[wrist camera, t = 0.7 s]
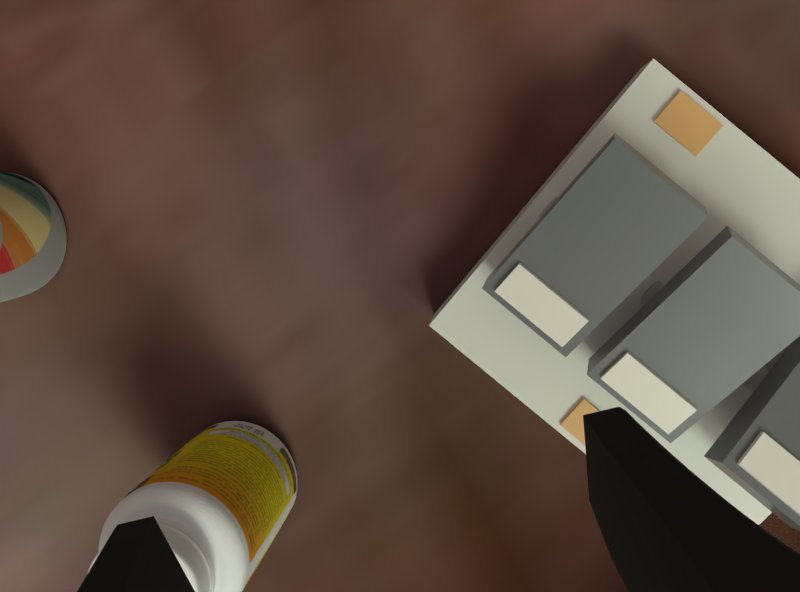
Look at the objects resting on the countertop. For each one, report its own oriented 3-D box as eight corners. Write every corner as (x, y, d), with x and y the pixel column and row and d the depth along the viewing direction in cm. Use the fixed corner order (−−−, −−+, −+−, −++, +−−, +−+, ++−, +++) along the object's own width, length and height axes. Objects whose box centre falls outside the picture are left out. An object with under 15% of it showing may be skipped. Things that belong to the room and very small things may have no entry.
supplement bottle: (203, 398, 35) (85, 488, 25) (317, 443, 34) (244, 552, 24) (169, 505, 36) (43, 633, 26) (279, 549, 35) (194, 697, 25)
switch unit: (930, 307, 30) (986, 324, 27) (702, 534, 33) (727, 576, 29) (640, 68, 30) (659, 53, 27) (433, 314, 33) (426, 330, 29)
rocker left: (705, 206, 26) (709, 218, 25) (568, 342, 29) (565, 359, 28) (614, 132, 26) (613, 140, 25) (488, 276, 29) (481, 290, 28)
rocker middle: (816, 298, 26) (827, 315, 25) (669, 424, 29) (670, 446, 28) (727, 225, 26) (732, 237, 25) (588, 358, 29) (586, 376, 28)
